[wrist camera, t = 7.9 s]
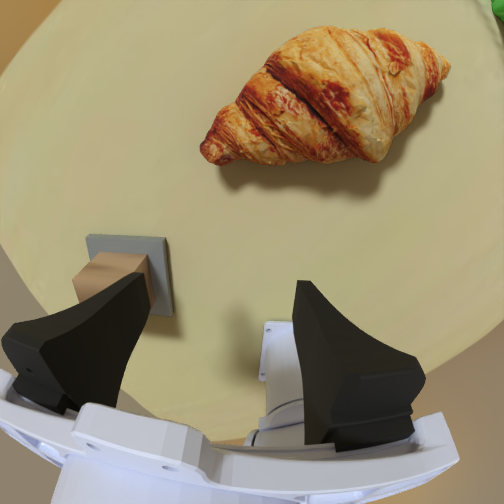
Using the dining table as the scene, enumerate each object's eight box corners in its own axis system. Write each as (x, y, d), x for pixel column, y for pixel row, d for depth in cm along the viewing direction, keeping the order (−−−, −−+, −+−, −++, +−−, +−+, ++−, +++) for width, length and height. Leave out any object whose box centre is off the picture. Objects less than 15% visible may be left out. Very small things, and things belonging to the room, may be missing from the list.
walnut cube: (155, 301, 24) (137, 336, 20) (110, 296, 25) (88, 328, 20) (147, 254, 22) (123, 285, 18) (100, 251, 22) (71, 279, 18)
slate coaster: (173, 311, 26) (171, 316, 25) (105, 302, 26) (102, 307, 25) (165, 237, 22) (162, 241, 22) (89, 234, 22) (85, 237, 22)
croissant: (402, 43, 17) (418, -13, 9) (466, 127, 16) (511, 85, 8) (200, 126, 21) (151, 79, 13) (250, 230, 20) (209, 218, 12)
